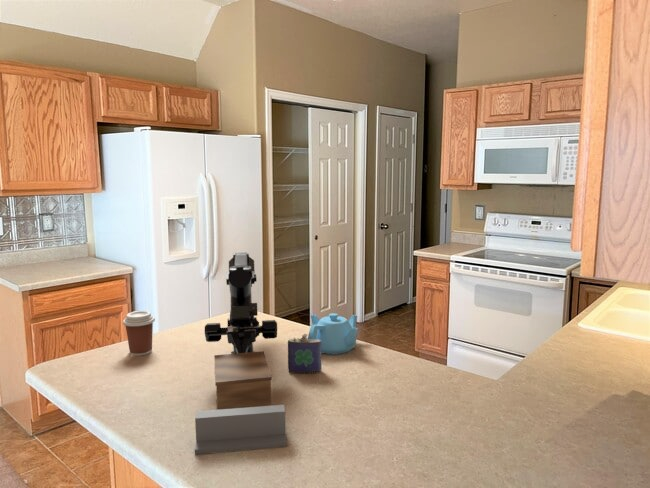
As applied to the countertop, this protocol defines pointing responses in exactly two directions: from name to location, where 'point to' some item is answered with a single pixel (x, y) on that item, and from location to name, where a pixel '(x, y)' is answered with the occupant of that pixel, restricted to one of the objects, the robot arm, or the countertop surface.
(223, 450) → the gray flanged bar
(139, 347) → the coffee cup
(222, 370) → the recipe box
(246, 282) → the robot arm
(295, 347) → the flask
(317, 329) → the teapot
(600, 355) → the countertop surface
